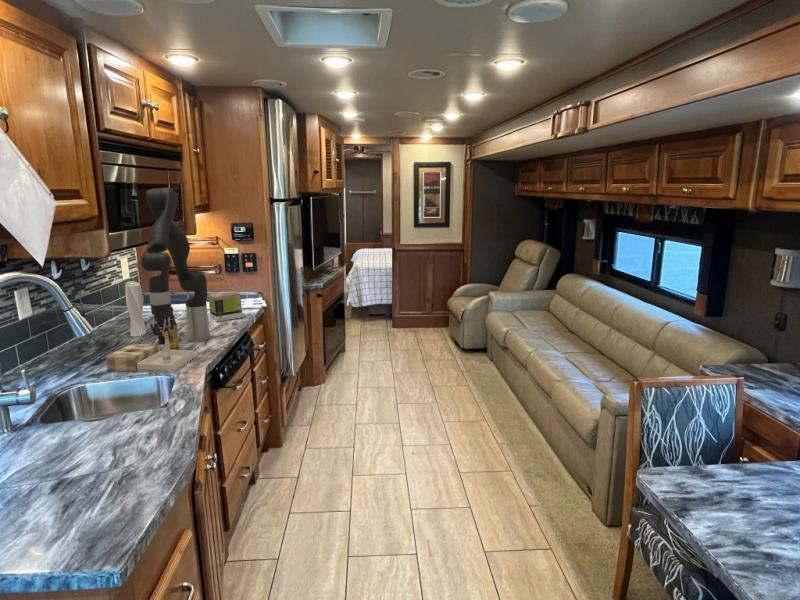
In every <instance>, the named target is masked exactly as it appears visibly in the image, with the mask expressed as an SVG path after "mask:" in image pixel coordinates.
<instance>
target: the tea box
mask: <svg viewBox="0 0 800 600" xmlns="http://www.w3.org/2000/svg"><path fill="white" fill-rule="evenodd" d="M207 297H208V303H209V305H208V306H209V313H210V319H211V318H212V319H213V320H215V321H222V322H224V321H223V320H228V321H230V320H229V319H234V318H239V317H242V318H243V309H242V297H241V293H239V292H237V291H233V290H232V291H226V292H219V293H213V294H211V293H210V294H207ZM212 319H211V320H212ZM239 319H240V318H239ZM213 320H212V321H213ZM234 320H235V319H234ZM215 321H214V322H215Z"/></svg>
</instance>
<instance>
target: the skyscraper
mask: <svg viewBox="0 0 800 600" xmlns="http://www.w3.org/2000/svg"><path fill="white" fill-rule="evenodd" d="M124 287H125V290H124V291H125V292H124V293H125V302H126V308H127V311H128V313H129V314H128V315H129V317H130V337H140V336H141V335H142V336H144V335H146V334H145V333H147V332H148V331H147V328H146V325H145V321H144V318H143V311H144V297H143V291H142V286H141V284H140V283H139V282H138V281H132V280H131V281H126V283H125V286H124ZM143 334H144V335H143ZM142 336H141V337H142Z"/></svg>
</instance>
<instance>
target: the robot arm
mask: <svg viewBox="0 0 800 600" xmlns="http://www.w3.org/2000/svg"><path fill="white" fill-rule="evenodd" d="M145 197H146V202H147V205H148V207H149V210H150V212H152V215H153V217H154V218H155V222H154V223H153V225H152V227H151V229H150V231H149V238H148V244H147V246H146V249H145V250H144V252H143V255H142V256H141V260H140V265H141V267H142V268H143V270H145V271H147V272H153V271H154V272H155V271H156V272H157V271H160V272H161V273H160V274H158V275H155V276H151V277H149V279H148V289H149V302H150V303H149V304H150V311H151V314H152V315H153V317H154V318H153V322H150V323H149V326H150V328H151V331H152V333H153V335H154V336H157V338H158V344H159V345H161V344H165V336H164V330H168V335H169V341H171V339H170V332H171V330H173V326H174V319H175V318H176V317H175V315H173V316H170V313H171V312H172V307H173V306H172V298H171V292H170V285H169V276H170V269H171V265H172V263H173V265H174V269H175V273H176V276H177V280H178V282H179V286H180V288H181V289H182V290H183V291H185V292H194V293H193V297H190V298H187V299H186V300H185V308H186V309H185V311H186V319H187V321H186V323H187V332H188V340H189V342H192V341H194V343H198V342H197V341H201V342H204V341H203V340H205V341H208V340H209V339H210V337H211V333H210V323H209V317H208V316H209V315H208V306H207V305H208V304H207V301H208V280H207V277H206V275H205V274H204V273H203V272H196V271H190V269H189V266H188V261H187V260H188V258H189V255H190V250H191V247H190V243H189V240H188V238H187V234H186V233H185V232H184V231H183V230H182V228H181V227H179V226H178V225H176V223H174V222H173V221H174V218H175V215H176V214H175V213H176V211H177V207H178V196H177V193H176V191H175V190H174V189H173V188H172V187H160V188H159V187H158V188H151V189H148V190H146V193H145ZM167 250H168V253H169V254H168V253H167V252H165V251H167ZM209 336H210V337H209ZM207 339H208V340H207Z"/></svg>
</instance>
